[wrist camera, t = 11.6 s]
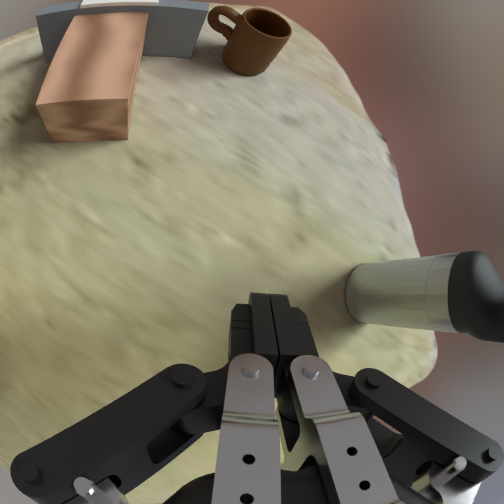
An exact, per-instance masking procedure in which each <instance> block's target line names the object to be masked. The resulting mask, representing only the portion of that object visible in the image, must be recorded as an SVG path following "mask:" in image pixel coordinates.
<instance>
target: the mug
mask: <svg viewBox="0 0 504 504" xmlns="http://www.w3.org/2000/svg"><path fill="white" fill-rule="evenodd" d="M219 15H224V16H226V17H227V18H229V19H230V20H231V21H233V22H234V23H235V24H236V26H235V28H234V30H233V29H232V28H231V27H230V26H228V25H226V24H224V23H222V22H220V20H219ZM208 23H209V25H210V26H211V27H212V28H213V29H214V30H215V31H217V32H219V33H221V34H223V36H224V37H225V38H226V39H227V40H228V42H227V44H226V46H225V48H224V50H223V59H224V62H225V63H226V65H227V66H228V67H229V68H231V69H232V70H233V71H235V72H237V73H240V74H243V75H248V76H254V75H258V74H261V73H262V72H264V71H265V70H266V69H267V67H268V66H269V65H270V63H271V62H272V61H273V59H274V58H275V57H276V55H277V54H278V53H279V52H280V50H281V49H282V48H283V46H284V45H285V44H286V42H287V41H288V39H289V37H290V36H291V33H292V30H291V27H290V25H289V24H288V22H287V21H286V20H285V19H284V18H282V17H281V16H279V15H278V14H276V13H274V12H272V11H269V10H266V9H261V8H251V9H248V10H246V11H245V12H244V13H243V14H242V15H240V14H239V13H238V12H236V11H235V10H234V9H233V8H230V7H227V6H217V7H214V8H213V9H212V10H210V12H209V13H208Z"/></svg>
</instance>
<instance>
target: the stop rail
mask: <svg viewBox="0 0 504 504" xmlns="http://www.w3.org/2000/svg"><path fill="white" fill-rule="evenodd" d="M208 9H209V4H208V3H201V2H193V1H184V0H83V1H78V2H71V3H65V4H58V5H53V6H47V7H43V8H41V9H40V11H39V12H38V14H37V15H36V19H37V24H38V29H39V34H40V39H41V43H42V47H43V51H44V55H45V59H46V61H52V60H53V58H54V56H55V53H56V51H57V49H58V47H59V45H60V43H61V41H62V39H63V37H64V35H65V33H66V31H67V29H68V27H69V25H70V23H71V22H72V20H73V18H74V16H77V15H86V14H98V13H118V12H147V13H149V16H148V22H147V27H146V33H145V40H144V47H143V54H142V55H150V56H170V57H182V58H191V55H192V52H193V50H194V47H195V44H196V41H197V39H198V36H199V33H200V31H201V28H202V26H203V23H204V21H205V18H206V16H207V13H208Z"/></svg>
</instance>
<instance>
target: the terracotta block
mask: <svg viewBox="0 0 504 504" xmlns="http://www.w3.org/2000/svg"><path fill="white" fill-rule="evenodd" d="M148 16H149V13H147V12H118V13H98V14H86V15H77V16H74V18H73V20H72V22H71V23H70V25H69V27H68V29H67V31H66V33H65V35H64V37H63V39H62V41H61V43H60V45H59V47H58V49H57V51H56V53H55V56H54V58H53V60H52V62H51V65H50V67H49V69H48V72H47V74H46V77H45V80H44V82H43V85H42V87H41V90H40V93H39V96H38V99H37V102H36V107H37V109H38V112H39V114H40V116H41V118H42V120H43V122H44V124H45V126H46V129H47V131H48V133H49V135H50V137H51V139H52V141H53V143H60V142H75V141H95V140H128V135H129V127H130V120H131V113H132V106H133V100H134V94H135V89H136V83H137V78H138V73H139V68H140V63H141V59H142V54H143V47H144V40H145V33H146V27H147V22H148Z"/></svg>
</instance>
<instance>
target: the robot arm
mask: <svg viewBox="0 0 504 504" xmlns="http://www.w3.org/2000/svg"><path fill="white" fill-rule="evenodd" d="M346 304H347V307H348V310H349V312H350V314H351V315H352V316H353V318H354V319H356V320H357V321H359V322H362V323H370V324H378V325H385V326H394V327H403V328H413V329H423V330H434V331H447V332H461V333H468V334H470V335H472V336H474V337H475V338H477V339H480V340H485V341H493V342H501V343H504V282H503V281H502V280H501V279H500V277H499V276H498V275H497V273H496V271H495V269H494V268H493V266H492V264H491V262H490V260H489V259H488V257H487V256H486V255H485V254H484V253H482V252H480V251H467V252H459V253H452V254H443V255H436V256H428V257H419V258H411V259H402V260H393V261H383V262H374V263H365V264H361V265H359V266H358V267H356V268H355V269H354V270H353V272H352V273H351V275H350V277H349V279H348V282H347V286H346ZM274 398H277V402H278V406H277V409H276V412H275V413H274ZM275 415H276V420H275ZM374 415H375V416H377V417H378V418H380V419H381V420H383V421H384V422H386V423H387V424H389V425H390V426H392V427H393V428H395V429H396V430H398V431H399V432H401V433H402V434H396V433H394V432H393V431H391V430H390V429H388V428H387V427H385V426H384V425H382V424H380V423H379V422H378V421H376V420H375V419H373V418H372V417H373V416H374ZM219 429H220V437H219V445H218V453H217V461H216V470H215V473H211V474H207V475H204V476H201V477H199V478H196V479H194V480H192V481H190V482H189V483H187V484H186V485H184V486H183V487H181V488H180V489H179V490H178V491H177V492H176V493H174V494H173V495H172V496H171V497H170V498H169V499H167V500H166V501H165V502H164V503H163V504H472V502H473V500H474V498H475V495H476V493H477V491H478V488H479V486H480V483H481V482H482V481H483V480H484V479H486V478H487V477H488V476H490V475H491V474H493V473H494V472H495V471H497V470H498V469H499V468H500V467H501V466H502V463H503V460H504V454H503V450H502V448H501V446H500V445H499V444H498V443H497V442H496V441H494V440H492V439H491V438H489V437H487V436H485V435H484V434H482V433H480V432H478V431H477V430H475V429H474V428H472V427H470V426H468V425H467V424H465V423H463V422H462V421H460V420H458V419H457V418H455V417H453V416H452V415H450V414H448V413H447V412H445V411H444V410H442V409H440V408H439V407H437V406H435V405H434V404H432V403H430V402H429V401H427V400H426V399H424V398H422V397H421V396H419V395H417V394H416V393H414V392H413V391H411V390H410V389H408V388H406V387H405V386H403V385H402V384H400V383H399V382H397V381H395V380H394V379H392V378H391V377H389V376H388V375H386V374H384V373H383V372H381V371H379V370H377V369H372V368H365V369H362V370H360V371H359V372H357V374H356V375H355V377H353V376H348V375H343V374H339V373H335V372H333V371H332V370H331V368H330V366H329V365H328V363H327V362H325V361H324V360H323V359H321V358H319V355H318V352H317V349H316V346H315V343H314V339H313V336H312V333H311V330H310V327H309V325H308V321H307V318H306V315H305V314H304V313H303V312H302V311H301V310H300V309H299V307H290V304H289V300H288V297H287V295H281V294H269V295H268V294H265V293H252V292H250V296H249V303H248V304H236V306H235V307H234V308H233V310H232V312H231V322H230V332H229V350H228V363H227V364H226V365H225V366H224V367H223V368H221V369H219V370H216V371H213V372H207V373H202V371H201V370H199V369H198V368H196V367H194V366H192V365H189V364H175V365H172V366H169V367H167V368H166V369H164V370H163V371H161V372H160V373H158V374H157V375H155V376H153V377H152V378H150V379H149V380H147V381H146V382H144V383H142V384H141V385H139V386H138V387H136V388H134V389H133V390H131V391H130V392H128V393H126V394H125V395H123V396H121V397H120V398H118V399H117V400H115V401H113V402H112V403H110V404H108V405H107V406H105V407H103V408H102V409H100V410H98V411H97V412H95V413H93V414H91V415H90V416H88V417H86V418H85V419H83V420H81V421H79V422H78V423H76V424H74V425H72V426H71V427H69V428H67V429H65V430H63V431H62V432H60V433H58V434H56V435H54V436H52V437H51V438H49V439H47V440H45V441H43V442H41V443H39V444H38V445H36V446H34V447H32V448H30V449H28V450H26V451H24V452H22V453H20V454H19V455H17V456H16V457H15V458H14V460H13V462H12V464H11V477H12V480H13V482H14V484H15V486H16V487H17V488H18V489H19V490H20V491H21V492H22V493H23V494H25V495H27V496H28V497H30V498H31V499H33V500H34V501H35V502H36V503H38V504H129V503H128V500H127V498H126V497H125V494H127V493H128V492H130V491H131V490H133V489H134V488H136V487H137V486H138V485H140V484H141V483H143V482H144V481H145V480H147V479H148V478H150V477H151V476H152V475H154V474H155V473H156V472H158V471H159V470H160V469H162V468H163V467H164V466H166V465H167V464H168V463H169V462H171V461H172V460H173V459H175V458H176V457H177V456H178V455H180V454H181V453H182V452H183V451H184V450H186V449H187V448H188V447H189V446H191V445H192V444H193V443H194V442H195V441H197V440H198V439H199V438H200V437H201V436H202V435H203V434H204V433H205V432H210V431H214V430H219ZM279 434H280V435H279ZM280 439H281V443H282V448H283V452H284V470H281V469H280ZM404 483H405V484H404ZM407 485H408V486H407ZM410 487H411V488H410Z"/></svg>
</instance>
